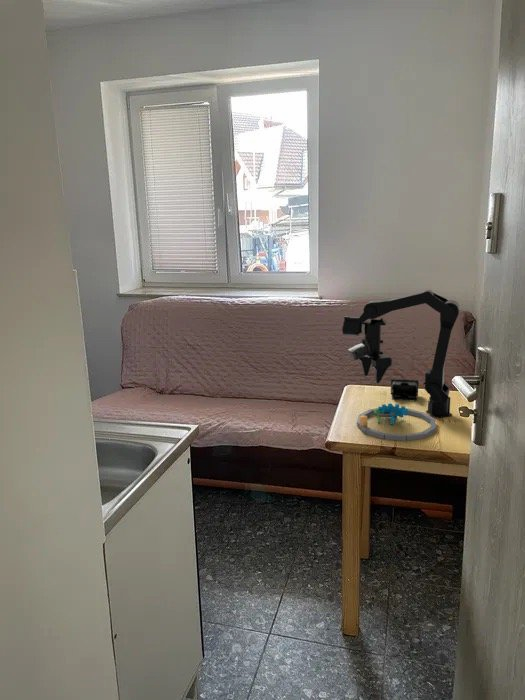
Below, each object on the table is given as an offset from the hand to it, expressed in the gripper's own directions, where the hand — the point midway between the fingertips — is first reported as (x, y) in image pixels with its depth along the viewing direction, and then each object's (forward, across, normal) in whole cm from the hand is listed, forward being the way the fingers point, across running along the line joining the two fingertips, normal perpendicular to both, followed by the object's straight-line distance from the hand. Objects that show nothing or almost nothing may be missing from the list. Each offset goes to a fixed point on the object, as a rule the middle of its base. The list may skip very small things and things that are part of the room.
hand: (371, 379), depth 193 cm
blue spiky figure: (+11, +14, 0) cm, 18 cm away
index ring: (+11, +18, 0) cm, 21 cm away
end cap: (+11, -6, +17) cm, 21 cm away
